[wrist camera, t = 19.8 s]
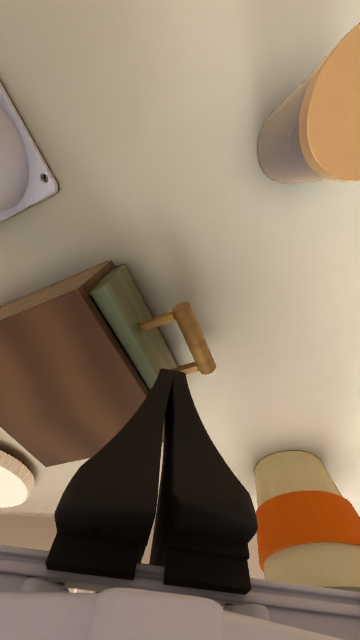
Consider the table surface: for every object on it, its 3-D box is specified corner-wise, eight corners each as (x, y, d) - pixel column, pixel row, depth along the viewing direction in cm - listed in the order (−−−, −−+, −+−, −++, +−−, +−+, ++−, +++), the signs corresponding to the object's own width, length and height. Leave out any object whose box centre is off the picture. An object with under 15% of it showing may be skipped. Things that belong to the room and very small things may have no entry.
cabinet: (111, 259, 19) (76, 288, 14) (178, 384, 26) (174, 440, 20) (-12, 311, 22) (-84, 353, 17) (75, 411, 29) (45, 467, 23)
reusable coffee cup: (244, 496, 36) (273, 670, 23) (237, 445, 30) (271, 641, 17) (332, 491, 34) (417, 678, 21) (342, 437, 29) (468, 648, 15)
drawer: (172, 244, 18) (166, 261, 13) (224, 373, 23) (231, 413, 19) (4, 313, 21) (-42, 343, 17) (85, 410, 27) (65, 450, 23)
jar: (247, 118, 15) (297, 53, 8) (326, 79, 14) (466, -37, 7) (263, 196, 17) (315, 200, 10) (333, 167, 16) (447, 148, 9)
